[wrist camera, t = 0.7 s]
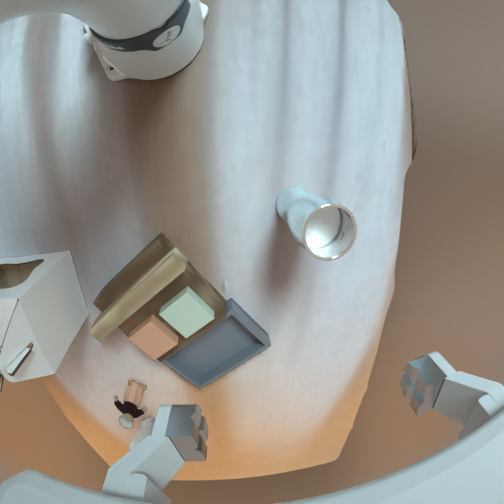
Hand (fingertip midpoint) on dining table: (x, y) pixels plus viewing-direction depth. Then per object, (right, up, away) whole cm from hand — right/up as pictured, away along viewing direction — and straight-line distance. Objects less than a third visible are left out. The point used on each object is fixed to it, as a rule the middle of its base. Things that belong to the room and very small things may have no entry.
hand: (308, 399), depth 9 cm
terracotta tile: (-18, -8, +34) cm, 40 cm away
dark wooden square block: (-18, -2, +37) cm, 41 cm away
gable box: (-44, -1, +34) cm, 56 cm away
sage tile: (-12, -3, +33) cm, 35 cm away
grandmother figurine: (-29, -24, +45) cm, 58 cm away
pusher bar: (-20, -1, +31) cm, 37 cm away
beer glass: (+5, +13, +35) cm, 37 cm away
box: (-9, -12, +42) cm, 45 cm away
